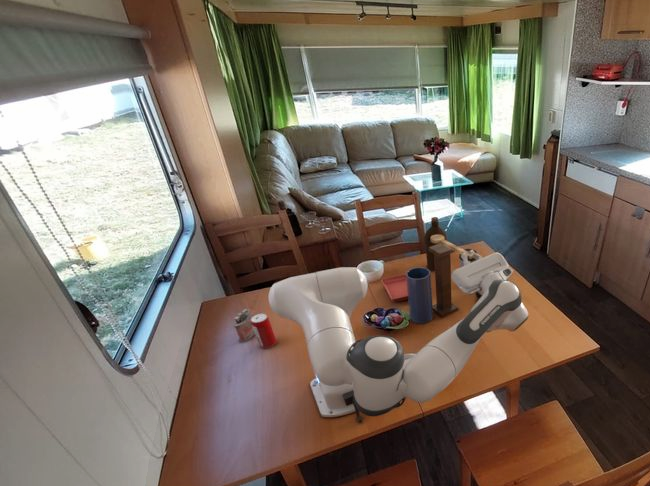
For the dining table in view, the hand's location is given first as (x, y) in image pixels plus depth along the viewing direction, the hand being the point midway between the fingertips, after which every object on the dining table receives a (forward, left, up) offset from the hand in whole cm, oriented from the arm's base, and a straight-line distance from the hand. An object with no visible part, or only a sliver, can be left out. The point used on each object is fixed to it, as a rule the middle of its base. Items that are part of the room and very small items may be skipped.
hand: (466, 252), depth 126 cm
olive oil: (+52, -5, -33) cm, 62 cm away
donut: (+19, -18, -33) cm, 42 cm away
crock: (+15, +13, -33) cm, 39 cm away
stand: (+17, +3, -33) cm, 37 cm away
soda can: (+19, +69, -33) cm, 79 cm away
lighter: (+27, +76, -33) cm, 88 cm away
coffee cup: (+33, -14, -33) cm, 49 cm away
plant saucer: (+36, +14, -33) cm, 51 cm away
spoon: (+8, +3, -1) cm, 8 cm away
